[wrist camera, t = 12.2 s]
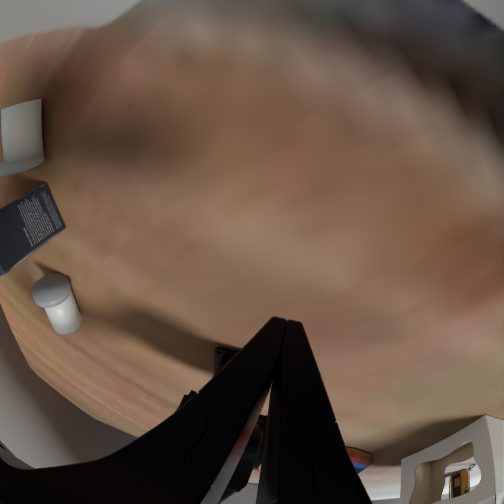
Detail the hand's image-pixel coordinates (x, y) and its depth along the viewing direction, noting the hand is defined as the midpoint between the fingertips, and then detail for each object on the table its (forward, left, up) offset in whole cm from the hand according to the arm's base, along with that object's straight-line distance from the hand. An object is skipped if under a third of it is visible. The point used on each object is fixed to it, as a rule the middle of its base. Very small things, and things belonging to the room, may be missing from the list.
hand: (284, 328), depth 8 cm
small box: (-8, +31, -14) cm, 35 cm away
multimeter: (-72, -78, -14) cm, 107 cm away
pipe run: (-8, +29, -13) cm, 33 cm away
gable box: (-41, -44, -14) cm, 62 cm away
